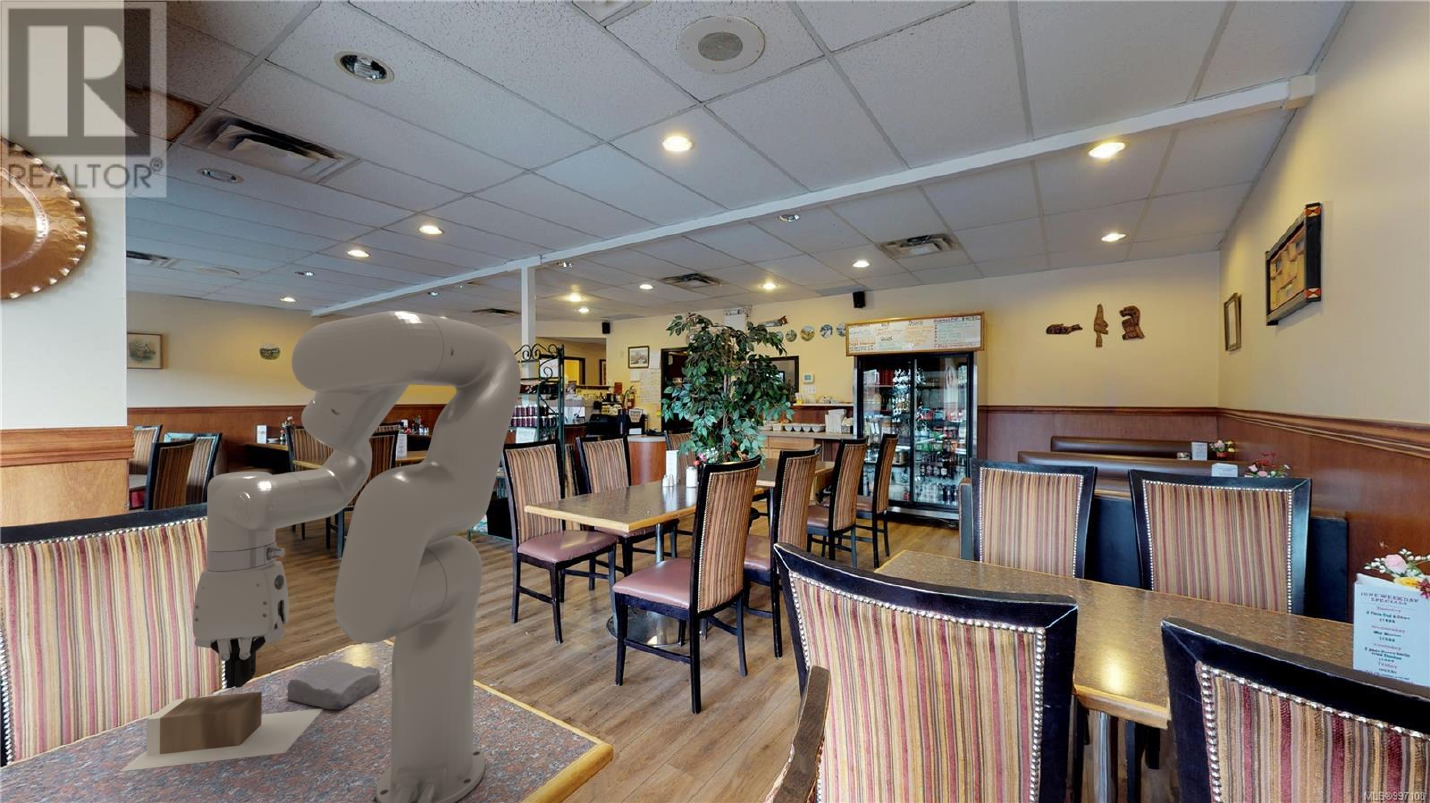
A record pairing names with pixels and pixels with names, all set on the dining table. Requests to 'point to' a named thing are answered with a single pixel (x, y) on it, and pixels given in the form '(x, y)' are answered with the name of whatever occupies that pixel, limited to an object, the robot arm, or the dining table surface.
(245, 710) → the walnut block
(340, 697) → the stone block
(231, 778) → the dining table surface
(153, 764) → the beige mat
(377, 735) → the dining table surface
